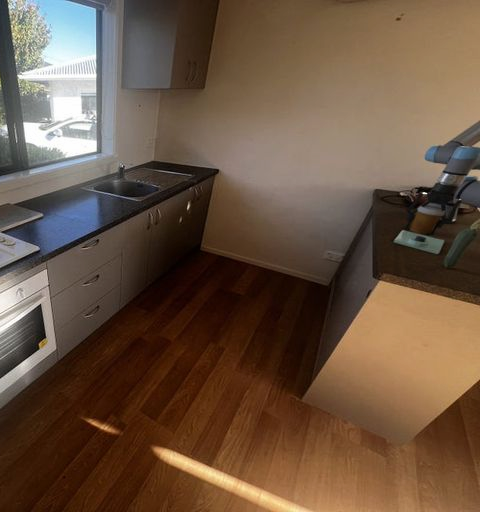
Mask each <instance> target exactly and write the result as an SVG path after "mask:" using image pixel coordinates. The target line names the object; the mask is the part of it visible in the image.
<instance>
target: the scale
mask: <svg viewBox="0 0 480 512" xmlns="http://www.w3.org/2000/svg"><path fill="white" fill-rule="evenodd" d="M417 236H422V237H425V238H426V240H425V242H419V241H416V240H415V238H416V237H417ZM393 243H395V244H399V245H402V246H405V247H409V248H414V249H417V250H421V251H424V252H427V253H432V254H435V255H439V254H440V252H441V249H442V247H443V246H444V244H445V240H444V239H440V238H436V237H432V236H428V235H425V234H419V233H415V232H412V231H408V230H404V229H403V230H401V231H400V232H399V233H398V235H397V236H396V238H395V239H394V240H393Z"/></svg>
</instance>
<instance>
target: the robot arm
mask: <svg viewBox="0 0 480 512" xmlns="http://www.w3.org/2000/svg"><path fill="white" fill-rule="evenodd" d="M479 142H480V120H478V121H477V122H475V123H474V124H472V125H470V126H469V127H468V128H466V129H465V130H463V131H462V132H461V133H459V134H457V135H456V136H455V137H453V138H452V139H451V140H449V141H447V142H445V143H444V144H443V145H441V144H436V145H432V146H430V147H429V148H428V149H427V150H426V152H425V154H424V160H425V161H427V162H430V163H433V164H440V165H445V167H444V169H443V170H442V171H441V173H440V175H439V177H438V178H437V179H436V181H437V182H435V183H434V185H433V186H432V188H431V189H430V191H429V192H423V191H421V192H418V195H417V197H416V199H415V200H414V201H413V202H412V203H411V204H410V206H409V207H408V208H407V209H406V210H405V212H406V213H408V214H409V215H408V217H407V218H406V221H407V224H406V226H405V228H406V229H408V228H409V227H410V226H411V224H412V222H413V220H414V217H415V215H416V212H417V210H418V209H417V208H419V206H418V207H416V208H415V209H413V208H414V207H415V206H416V205H417V204H418V203H419V201H421V200H422V199H423V198H425V197H426V198H427V200H426V201H425V202H423V203H422V204H420V205H421V206H422V207H425V206H426V205H429V206H435V207H439V208H441V211H445V215H443V216H442V217H441V219H440V220H439V221H438V222H437V223H436V224H435V226H434V227H433V228H432V229H431V230H432V231H430V235H433V234H434V233H435V231H436V230H437V229H441V228H442V227H443V226H444V224H453V223H454V222H455V221H456V220H457V216H458V211H459V207H460V205H466V206H470V207H474V208H476V209H480V180H479V178H478V176H477V175H470V172H471V171H476V170H478V171H480V147H478V146H475V145H477V144H478V143H479Z"/></svg>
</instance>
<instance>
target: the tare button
mask: <svg viewBox="0 0 480 512" xmlns="http://www.w3.org/2000/svg"><path fill="white" fill-rule="evenodd" d="M415 240H416V241H419V242H425V240H426V238H425V237H422V236H417V237H416V238H415Z"/></svg>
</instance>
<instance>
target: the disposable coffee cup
mask: <svg viewBox="0 0 480 512" xmlns="http://www.w3.org/2000/svg"><path fill="white" fill-rule="evenodd" d="M421 205H422V204H420V205H419V206H418V207H419V208H418V207H416V208H417V209H418V210H417V212H416V215H415V217H414V218H413V220H412V222H411V224H410V226H409V227H410V228H409V232H412V233H416V234H420V235H428V234H429V233H430V232H431V230H433V229H434V227H435V226H436V224H437V223H438V221H439V220H440V219H441V217H442V216H443V215H445V211H441V208H439V207H435V206H429V205H426V206H425V207H422V206H421Z"/></svg>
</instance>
